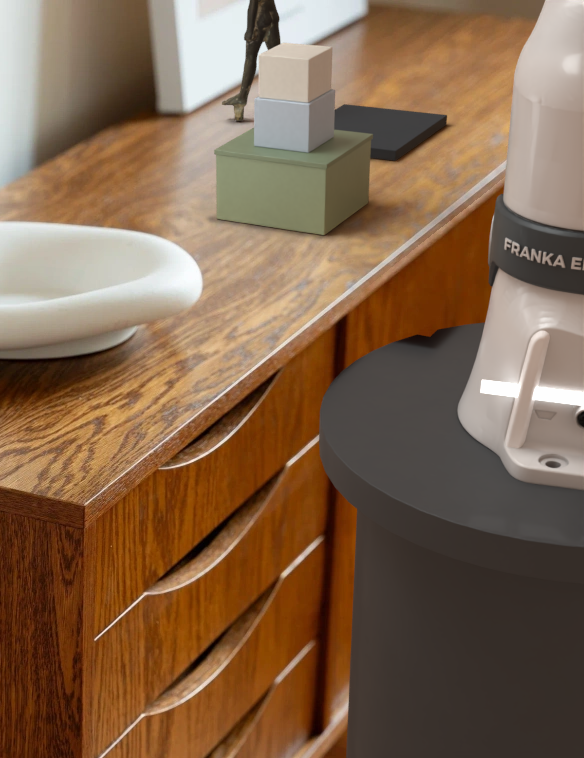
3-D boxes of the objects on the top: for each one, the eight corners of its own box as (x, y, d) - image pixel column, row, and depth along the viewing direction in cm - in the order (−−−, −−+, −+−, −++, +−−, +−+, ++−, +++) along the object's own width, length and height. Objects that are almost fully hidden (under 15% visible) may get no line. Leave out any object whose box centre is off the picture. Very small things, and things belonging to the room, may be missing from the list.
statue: (231, 111, 156) (231, -92, 146) (290, 115, 154) (293, -92, 144) (216, 124, 152) (215, -85, 142) (276, 128, 150) (278, -84, 140)
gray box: (334, 137, 125) (335, 89, 123) (308, 153, 122) (309, 104, 120) (280, 130, 128) (280, 83, 126) (253, 146, 124) (253, 98, 122)
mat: (446, 124, 148) (447, 114, 147) (395, 161, 138) (396, 150, 138) (343, 113, 153) (343, 103, 153) (287, 147, 144) (287, 137, 143)
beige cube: (331, 89, 123) (333, 46, 122) (308, 103, 120) (309, 59, 118) (282, 84, 126) (282, 42, 124) (257, 97, 122) (258, 54, 121)
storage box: (370, 202, 129) (373, 133, 126) (325, 236, 122) (327, 164, 119) (263, 188, 134) (264, 121, 131) (214, 219, 127) (214, 149, 124)
